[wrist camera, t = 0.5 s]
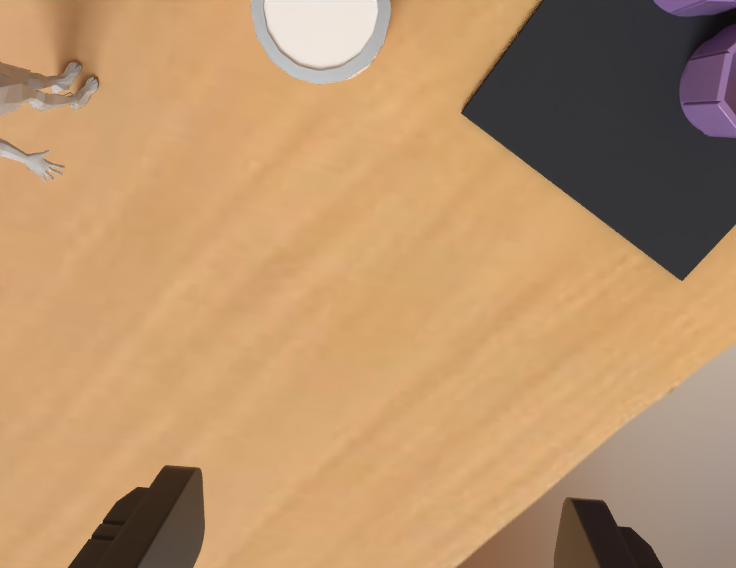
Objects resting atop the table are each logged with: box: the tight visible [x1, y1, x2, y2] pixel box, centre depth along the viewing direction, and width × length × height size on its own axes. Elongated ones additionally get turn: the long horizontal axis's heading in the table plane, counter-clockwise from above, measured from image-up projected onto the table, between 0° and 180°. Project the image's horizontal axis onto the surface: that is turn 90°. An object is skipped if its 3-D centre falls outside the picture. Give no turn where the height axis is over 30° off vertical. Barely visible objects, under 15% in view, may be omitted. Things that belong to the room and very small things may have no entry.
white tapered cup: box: [251, 0, 391, 84], centre depth 30 cm, size 7×7×7 cm
